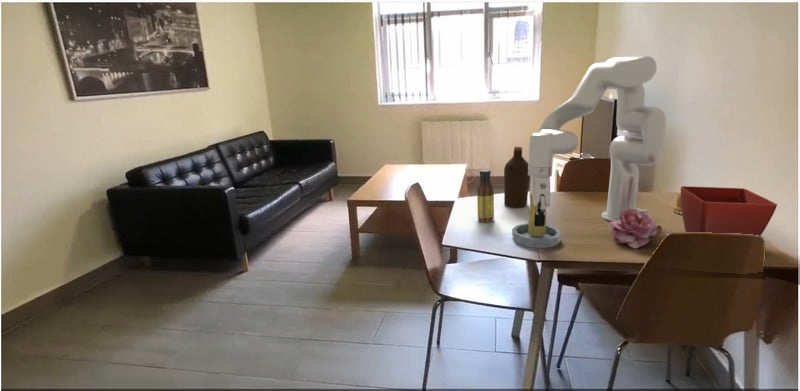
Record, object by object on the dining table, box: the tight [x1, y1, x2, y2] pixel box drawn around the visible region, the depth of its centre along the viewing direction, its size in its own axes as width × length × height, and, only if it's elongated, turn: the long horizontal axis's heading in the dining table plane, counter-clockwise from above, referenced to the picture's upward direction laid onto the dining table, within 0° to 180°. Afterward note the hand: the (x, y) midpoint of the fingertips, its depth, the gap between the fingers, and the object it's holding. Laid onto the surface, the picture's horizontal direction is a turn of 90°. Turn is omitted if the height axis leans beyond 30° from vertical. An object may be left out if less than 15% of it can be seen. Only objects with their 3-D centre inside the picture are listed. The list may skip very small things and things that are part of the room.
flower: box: [608, 209, 663, 249], centre depth 144 cm, size 15×15×10 cm
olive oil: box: [503, 146, 531, 209], centre depth 184 cm, size 11×11×25 cm
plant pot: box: [680, 185, 778, 237], centre depth 138 cm, size 19×19×17 cm
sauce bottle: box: [476, 168, 495, 223], centre depth 167 cm, size 7×6×20 cm
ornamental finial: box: [672, 193, 682, 212], centre depth 170 cm, size 8×8×8 cm
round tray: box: [511, 223, 562, 249], centre depth 149 cm, size 15×15×3 cm
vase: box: [527, 193, 548, 236], centre depth 147 cm, size 6×6×14 cm
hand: (537, 222), depth 147 cm, fingers closed on vase, 5 cm apart
